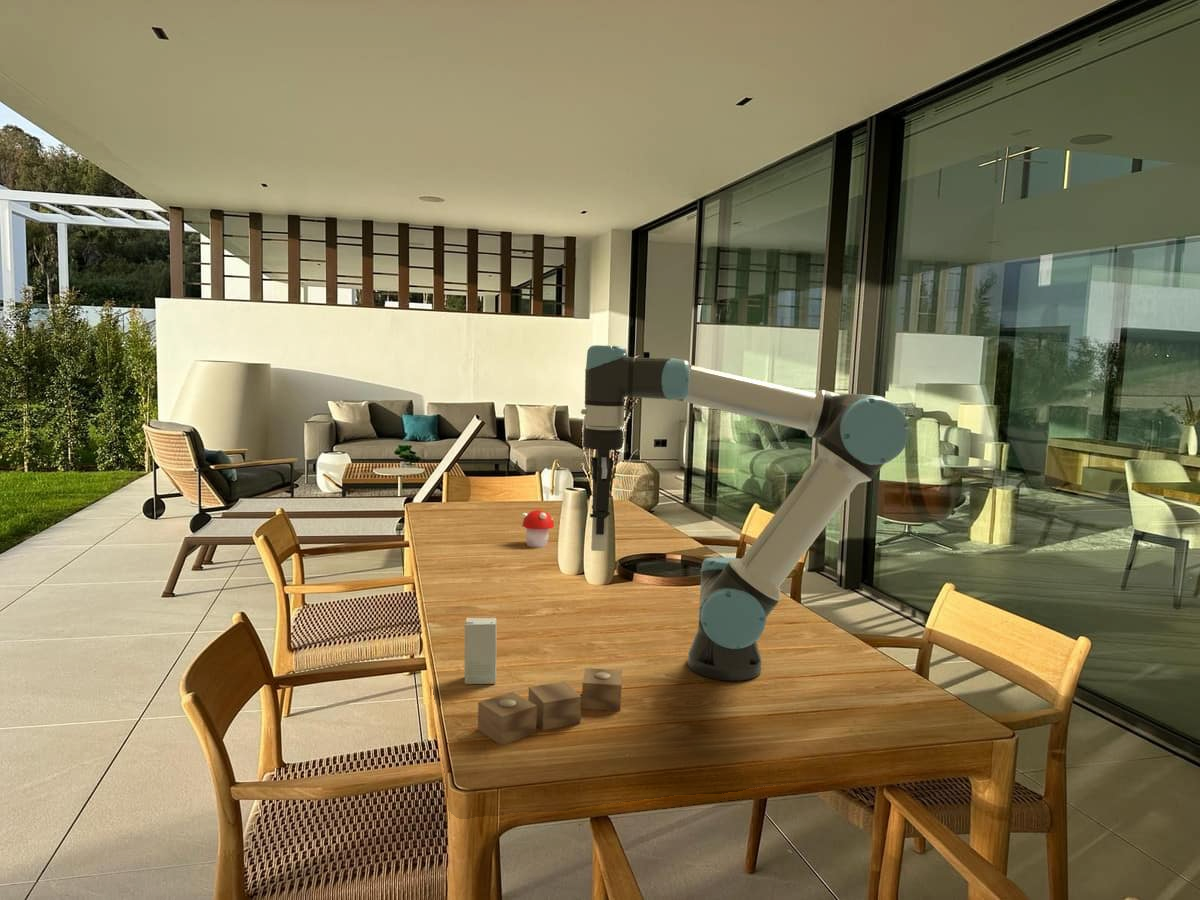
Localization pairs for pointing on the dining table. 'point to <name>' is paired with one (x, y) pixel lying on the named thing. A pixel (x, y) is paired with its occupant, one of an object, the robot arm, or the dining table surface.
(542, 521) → the mushroom
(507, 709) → the dotted walnut block
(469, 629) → the skincare box
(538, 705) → the plain walnut block
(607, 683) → the dotted walnut block
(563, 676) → the dining table surface
